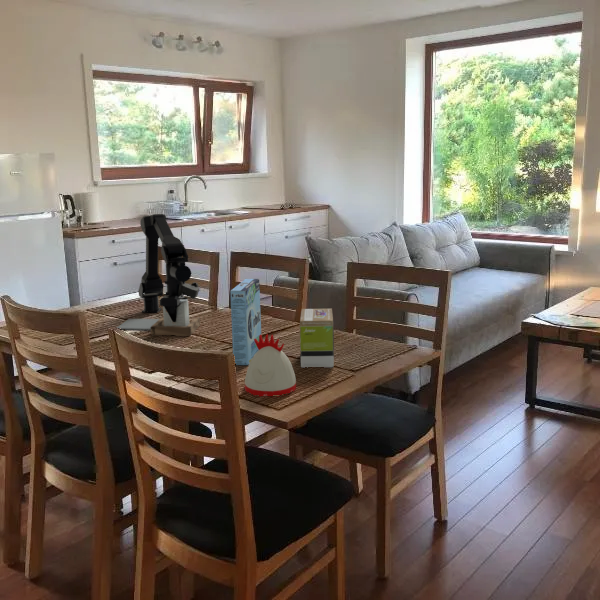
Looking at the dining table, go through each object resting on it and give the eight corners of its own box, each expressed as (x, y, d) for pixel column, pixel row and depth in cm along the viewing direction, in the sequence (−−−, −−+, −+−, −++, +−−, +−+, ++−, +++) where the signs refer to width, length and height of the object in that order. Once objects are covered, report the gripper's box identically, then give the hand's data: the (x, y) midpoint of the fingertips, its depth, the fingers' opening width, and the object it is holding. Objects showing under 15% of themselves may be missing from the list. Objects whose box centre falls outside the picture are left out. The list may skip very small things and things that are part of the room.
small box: (190, 327, 243) (188, 299, 241) (185, 331, 238) (184, 302, 235) (168, 327, 244) (167, 299, 242) (164, 331, 239) (162, 302, 236)
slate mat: (129, 320, 255) (129, 318, 254) (165, 320, 253) (165, 319, 253) (116, 329, 241) (116, 328, 241) (153, 330, 240) (153, 328, 240)
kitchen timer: (255, 377, 189) (254, 326, 186) (302, 381, 185) (301, 329, 182) (237, 394, 176) (235, 339, 173) (286, 399, 172) (285, 343, 169)
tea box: (301, 353, 211) (301, 307, 208) (333, 353, 211) (333, 307, 208) (300, 368, 197) (299, 319, 193) (334, 368, 196) (334, 319, 193)
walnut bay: (163, 324, 247) (162, 316, 247) (200, 325, 246) (199, 317, 245) (150, 335, 233) (150, 327, 233) (190, 335, 232) (189, 327, 231)
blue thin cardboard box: (248, 366, 199) (246, 291, 194) (231, 365, 200) (229, 290, 195) (262, 347, 218) (260, 278, 213) (247, 346, 219) (245, 278, 214)
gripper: (190, 282, 227) (192, 326, 230) (202, 272, 245) (204, 313, 248) (158, 282, 228) (160, 326, 231) (173, 272, 246) (175, 313, 249)
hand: (176, 319), depth 240 cm, fingers closed on small box, 6 cm apart
